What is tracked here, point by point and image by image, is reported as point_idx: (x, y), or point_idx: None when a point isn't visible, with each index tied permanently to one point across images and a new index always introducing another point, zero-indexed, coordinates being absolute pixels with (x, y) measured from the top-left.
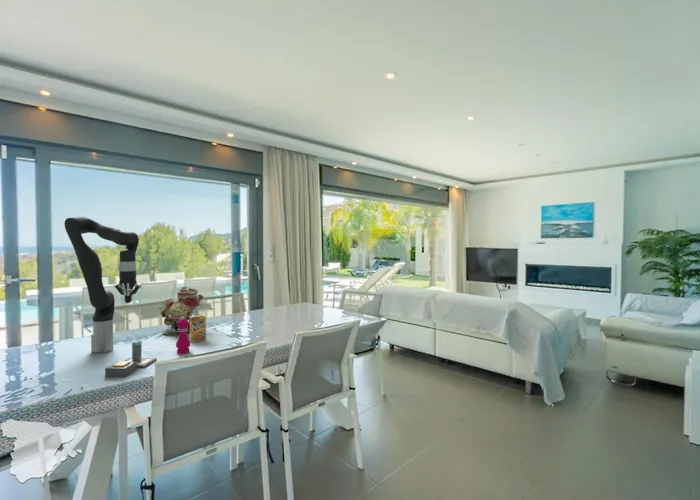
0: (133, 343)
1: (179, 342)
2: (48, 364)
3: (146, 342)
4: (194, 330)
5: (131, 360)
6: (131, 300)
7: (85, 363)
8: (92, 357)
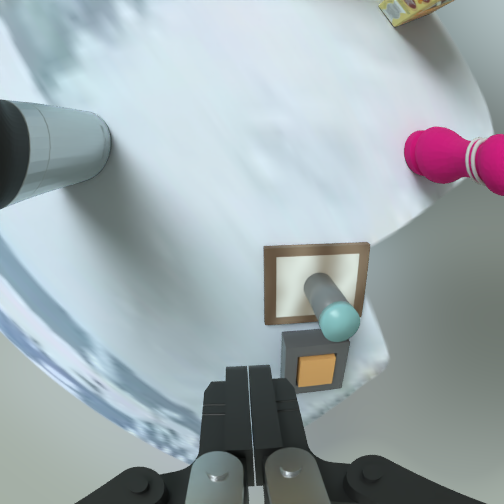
0: (334, 340)
1: (445, 181)
2: (38, 297)
3: (192, 16)
4: (429, 9)
5: (291, 276)
6: (294, 391)
7: (128, 287)
8: (100, 227)
